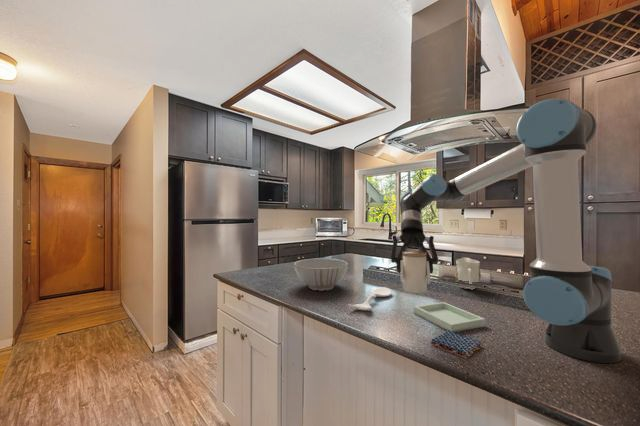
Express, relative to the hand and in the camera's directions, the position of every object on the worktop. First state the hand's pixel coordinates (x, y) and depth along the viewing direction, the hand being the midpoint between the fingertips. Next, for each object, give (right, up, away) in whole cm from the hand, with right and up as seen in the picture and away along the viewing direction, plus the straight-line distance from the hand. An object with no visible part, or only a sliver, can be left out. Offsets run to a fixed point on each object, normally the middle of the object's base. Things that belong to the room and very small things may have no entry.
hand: (415, 280), depth 87 cm
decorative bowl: (-29, -16, +53) cm, 62 cm away
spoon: (-7, -17, +30) cm, 35 cm away
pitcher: (+42, -16, +48) cm, 66 cm away
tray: (+15, -16, +11) cm, 24 cm away
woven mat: (+9, -17, -8) cm, 21 cm away
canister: (+1, -4, +3) cm, 5 cm away
